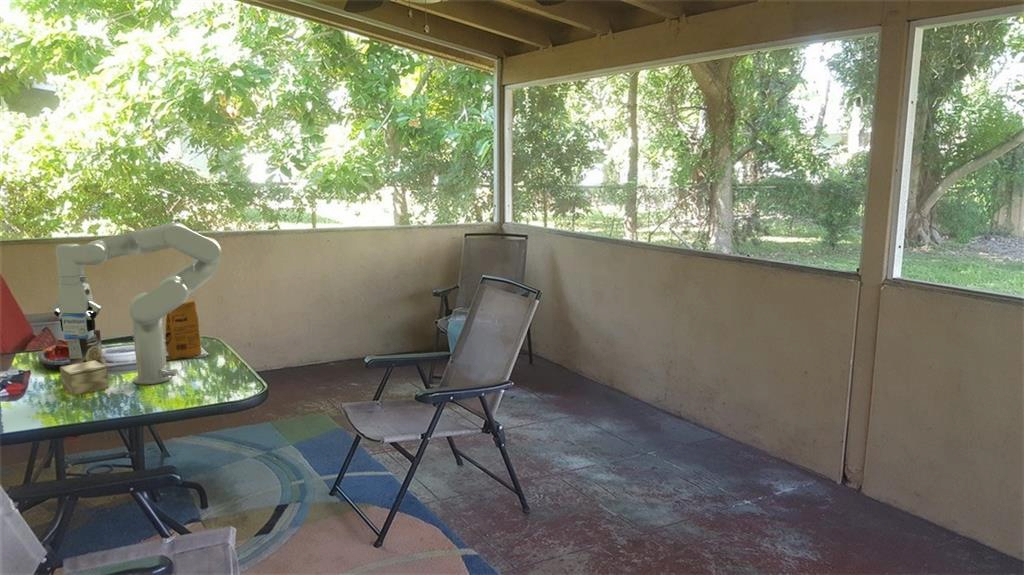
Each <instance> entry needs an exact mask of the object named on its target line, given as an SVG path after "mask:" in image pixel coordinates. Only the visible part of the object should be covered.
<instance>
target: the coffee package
mask: <svg viewBox="0 0 1024 575" xmlns="http://www.w3.org/2000/svg"><path fill="white" fill-rule="evenodd" d="M165 318H166V319H165V321H166V323H165V335H164V336H165V337H164V342H165V352H166V353H167V354H168V357H169V359H171V360H176V359H180V358H191V357H195V356H199V355H202V344H201V336H200V335H201V334H200V324H199V318H198V313H197V304H196V301H195V300H194V299H193V300H190V301H187V302H186V301H185V302H184V303H183V304H182V305H180V306H179V307H178V308H176V309H175V310H173V311H172V312H170V313H169V314H167V315H166V316H165Z"/></svg>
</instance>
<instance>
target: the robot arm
mask: <svg viewBox="0 0 1024 575" xmlns="http://www.w3.org/2000/svg"><path fill="white" fill-rule="evenodd" d="M167 249H168V250H169V249H174V250H175V251H177V252H180V253H181V254H184V255H186V256H188V257H190V258H193V260H192V261H190V263H188V264H187V265H185V266H184V267H183V268H182V269H180V270H178V271H176V272H174V273H173V274H172V275H170V276H168V277H166V278H164V279H163V280H162V281H161V282H160V283H159V286H157V287H155V288H154V289H152V290H151V291H150V292H142V293H139V294H137V295H135V296H134V297H133V298H132V300H131V302H130V305H129V311H128V312H129V316H130V319H131V322H132V324H131V326H132V334H133V343H134V351H135V352H134V353H135V361H136V373H137V375H136V376H135V377H133V379H132V381H133V384H135V385H148V386H149V385H155V384H161V383H165V382H168V381H169V380H171V379H173V377H176V376H177V374H178V370H177V369H174V368H173V369H171V366H170V365H167V357H166V344H165V337H164V336H165V335H164V325H163V324H164V322H163V318H164V317H166V316H167V314H169V313H170V312H172V311H173V310H175V309H176V308H178V307H179V306H180V305H182V304H183V303H186V301H187V299H188V297H189V295H190V294H191V293H192V292H194V291H195V290H196V289H199V287H201V286H202V285H204V284H205V283H207V282H208V281H209V280H210V279H211V278H212V277H213V276H214V275H215V273H216V272H217V270H218V268H219V266H220V263H221V255H222V247H221V246H220V244H219V242H218V241H217V240H216V239H215V238H213V237H210V236H203V235H202V234H199V233H197V232H196V231H194V230H192V229H190V228H188V227H187V226H186V225H185V224H183V223H181V222H178V221H176V222H175V221H174V222H169V223H165V224H161V225H156V226H155V225H154V226H153V227H152V226H151V227H148V228H143V229H139V230H134V231H128V232H126V233H122V234H117V235H112V236H109V237H108V236H107V237H104V238H100V239H96V240H92V241H89V243H87V244H86V243H85V244H79V243H63V244H58V245H56V247H55V257H56V264H57V272H58V273H57V274H58V279H59V280H58V281H59V282H58V283H59V285H57V286H58V287H57V302H56V303H55V304H52V305H51V307H50V309H51V310H52V312H53V314H54V315H55V316H56V317H57V319H58V321H60V322H59V323H60V328H61V329H60V330H61V332H63V325H62V317H61V315H62V314H85V315H86V317H87V319H88V320H86V323H87V331H92V330H96V321H95V319H96V318H97V316H98V315H99V314H100V311H101V308H102V307H101V305H99V304H97V303H95V301H94V298H93V293H92V290H91V287H90V284H89V283H87V282H88V280H89V277H88V276H87V277H86V274H85V266H86V265H87V266H99V265H101V264H104V263H105V261H108V260H111V259H116V258H119V257H123V256H124V257H125V256H129V255H130V256H132V255H138V256H141V255H148V254H151V253H155V252H160V251H163V250H167ZM89 314H90V315H89Z"/></svg>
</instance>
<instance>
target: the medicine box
mask: <svg viewBox="0 0 1024 575" xmlns="http://www.w3.org/2000/svg"><path fill="white" fill-rule="evenodd" d="M89 315H90V314H89ZM61 317H62V325H63V331H62V332H63V339H64V340H66V341H68V339H86V338H90V337H92V336H94V331H93V330H92V331H87V323H86V320H88V319H87V317H86V315H85V314H62V315H61Z"/></svg>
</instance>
